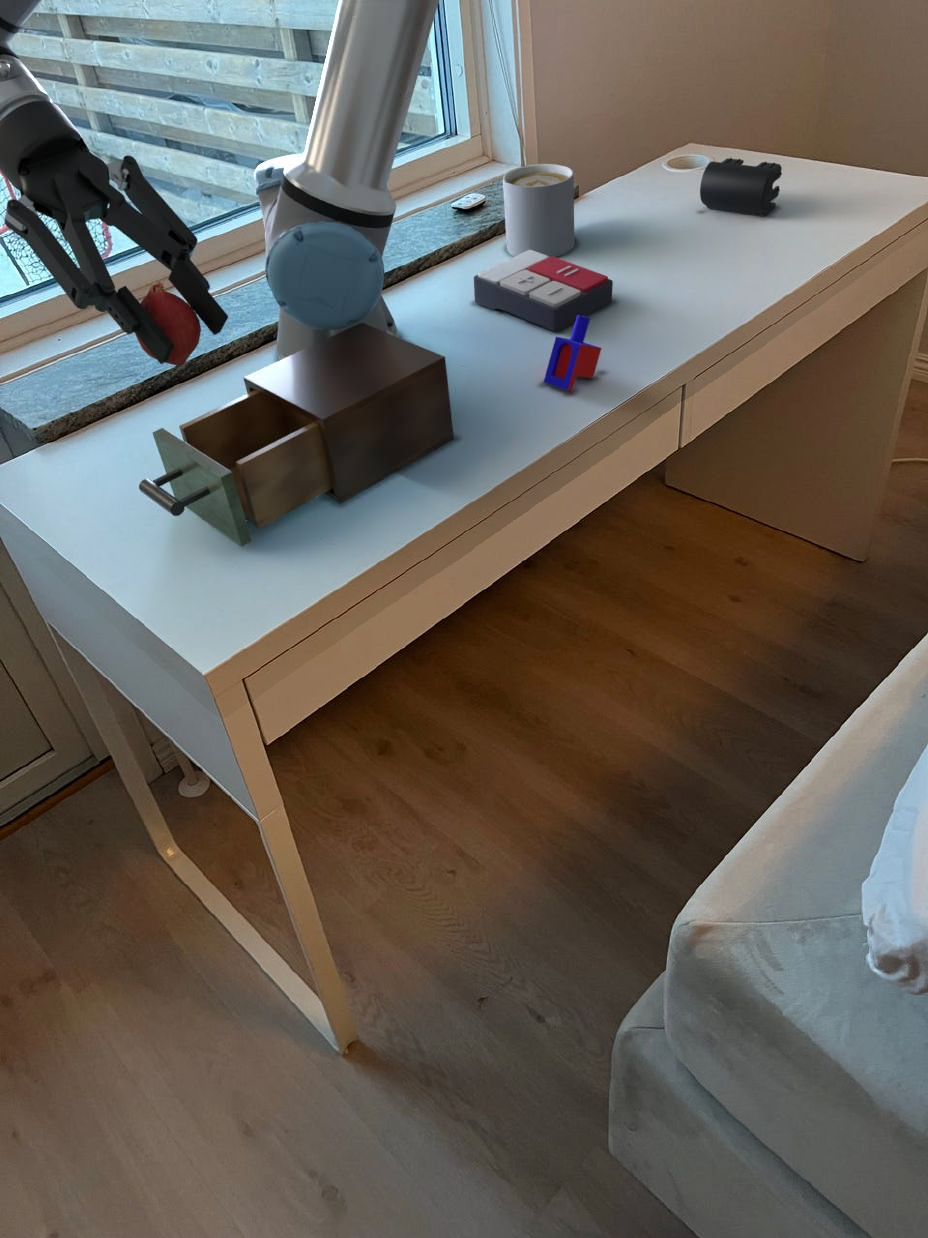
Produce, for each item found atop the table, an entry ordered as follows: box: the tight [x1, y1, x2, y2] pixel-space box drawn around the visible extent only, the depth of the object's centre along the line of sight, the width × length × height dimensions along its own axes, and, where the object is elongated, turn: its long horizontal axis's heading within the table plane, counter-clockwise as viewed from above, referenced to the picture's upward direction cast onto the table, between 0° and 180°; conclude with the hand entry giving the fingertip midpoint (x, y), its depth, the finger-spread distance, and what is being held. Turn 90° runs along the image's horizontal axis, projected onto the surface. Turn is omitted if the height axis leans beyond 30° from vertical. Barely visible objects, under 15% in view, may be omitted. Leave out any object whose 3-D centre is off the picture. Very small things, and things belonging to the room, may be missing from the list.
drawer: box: [138, 390, 333, 548], centre depth 94 cm, size 19×12×8 cm, turn 133°
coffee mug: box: [502, 163, 575, 258], centre depth 139 cm, size 13×10×10 cm
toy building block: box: [543, 315, 602, 392], centre depth 109 cm, size 4×4×8 cm
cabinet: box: [242, 323, 455, 504], centre depth 101 cm, size 16×14×10 cm
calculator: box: [473, 250, 614, 332], centre depth 126 cm, size 11×4×15 cm
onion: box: [134, 280, 202, 367], centre depth 89 cm, size 6×6×8 cm
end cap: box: [699, 157, 783, 217], centre depth 143 cm, size 10×7×7 cm
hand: (194, 339), depth 87 cm, fingers closed on onion, 6 cm apart
